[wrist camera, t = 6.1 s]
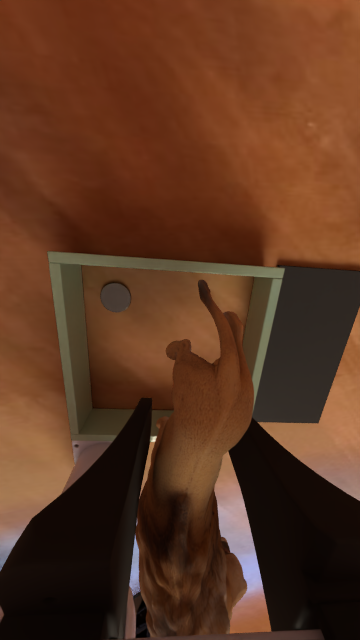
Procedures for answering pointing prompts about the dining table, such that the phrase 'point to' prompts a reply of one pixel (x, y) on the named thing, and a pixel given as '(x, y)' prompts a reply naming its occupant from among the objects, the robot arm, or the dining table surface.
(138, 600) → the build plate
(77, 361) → the green square tray
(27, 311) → the dining table surface
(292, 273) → the mat
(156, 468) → the lion figurine
